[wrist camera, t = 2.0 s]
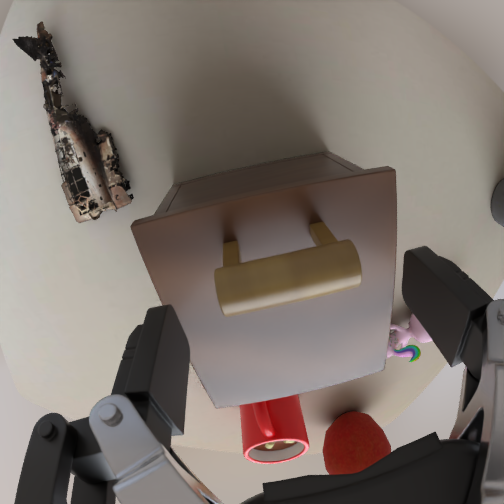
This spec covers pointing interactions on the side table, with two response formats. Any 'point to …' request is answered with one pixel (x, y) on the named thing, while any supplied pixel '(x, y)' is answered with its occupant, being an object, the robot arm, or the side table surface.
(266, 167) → the chest
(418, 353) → the pink creature figurine
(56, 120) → the airplane wreck
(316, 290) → the lid
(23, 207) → the side table surface
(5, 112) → the side table surface
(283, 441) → the mug
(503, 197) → the bottle
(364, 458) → the apple
